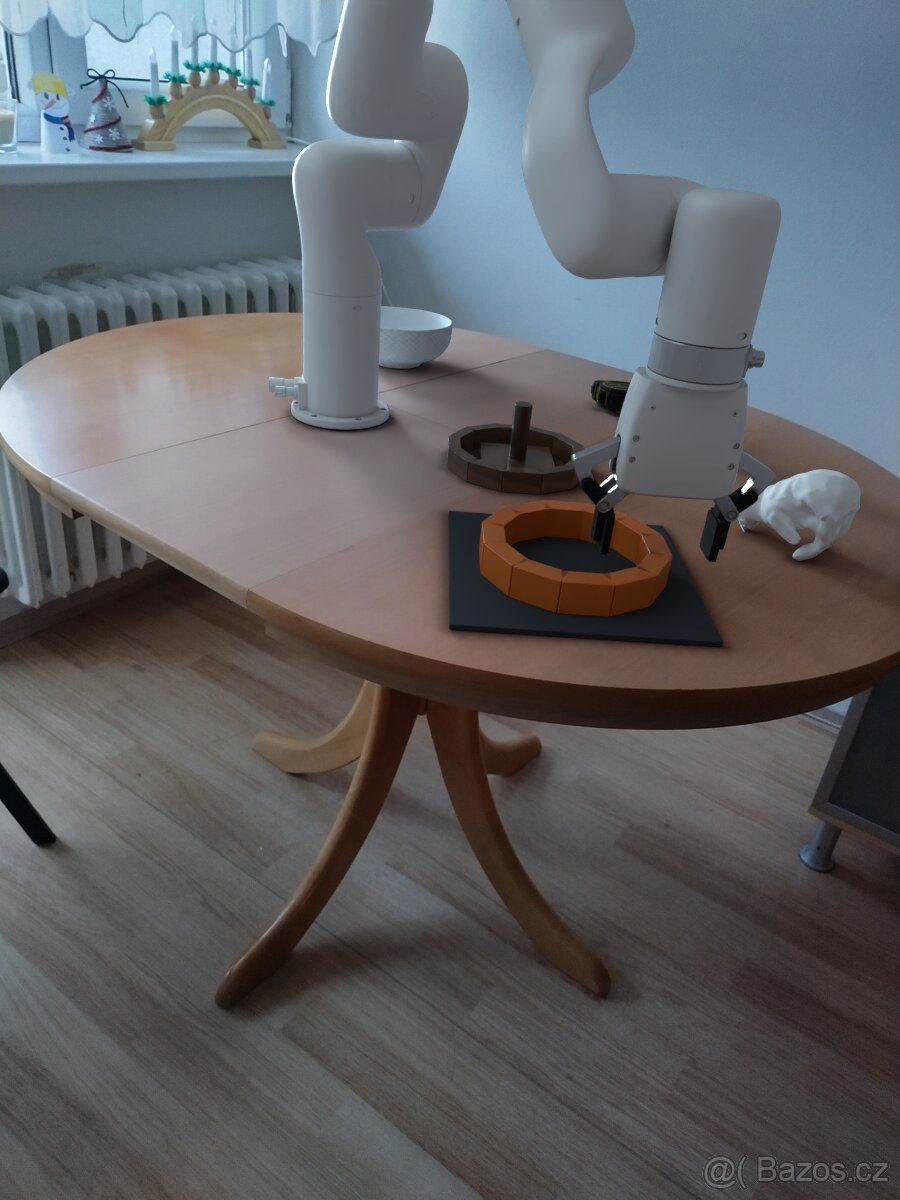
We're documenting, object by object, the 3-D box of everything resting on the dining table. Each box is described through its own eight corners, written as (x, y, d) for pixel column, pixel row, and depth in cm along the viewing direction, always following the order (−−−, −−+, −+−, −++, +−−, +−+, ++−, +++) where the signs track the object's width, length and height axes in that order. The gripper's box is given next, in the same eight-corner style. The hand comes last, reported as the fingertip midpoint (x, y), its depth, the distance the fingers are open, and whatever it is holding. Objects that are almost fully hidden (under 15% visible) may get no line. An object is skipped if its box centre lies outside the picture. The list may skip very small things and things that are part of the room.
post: (481, 477, 97) (488, 412, 93) (479, 451, 104) (485, 390, 100) (555, 482, 97) (565, 418, 94) (548, 456, 105) (556, 395, 101)
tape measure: (633, 404, 127) (638, 378, 125) (646, 418, 121) (652, 392, 119) (588, 401, 126) (592, 376, 124) (599, 416, 120) (603, 390, 118)
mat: (449, 629, 68) (449, 624, 68) (448, 514, 87) (448, 510, 87) (721, 647, 69) (723, 642, 69) (662, 529, 88) (663, 525, 88)
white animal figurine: (847, 486, 78) (727, 458, 86) (827, 572, 82) (714, 537, 90) (874, 472, 82) (757, 446, 90) (855, 554, 86) (744, 522, 94)
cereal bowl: (448, 381, 129) (452, 333, 126) (337, 372, 129) (338, 324, 125) (450, 353, 144) (453, 309, 141) (350, 345, 144) (351, 301, 140)
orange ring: (483, 608, 71) (486, 576, 69) (476, 523, 85) (479, 495, 84) (682, 621, 71) (690, 590, 70) (642, 534, 86) (648, 507, 84)
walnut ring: (447, 488, 94) (449, 467, 92) (446, 438, 107) (448, 419, 106) (593, 498, 94) (596, 477, 93) (573, 447, 108) (576, 429, 107)
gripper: (786, 356, 72) (736, 539, 81) (582, 340, 72) (554, 527, 80) (820, 382, 66) (762, 578, 74) (596, 364, 65) (563, 564, 74)
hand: (654, 551), depth 77 cm, fingers open, 9 cm apart
